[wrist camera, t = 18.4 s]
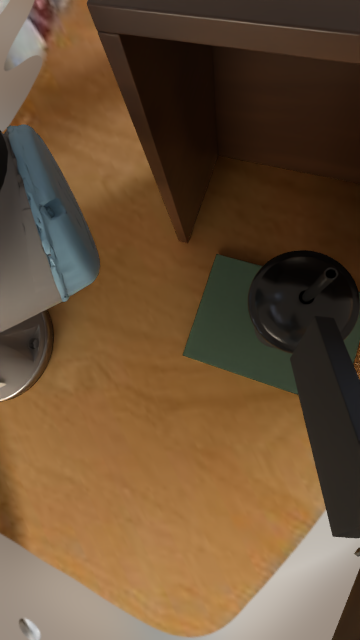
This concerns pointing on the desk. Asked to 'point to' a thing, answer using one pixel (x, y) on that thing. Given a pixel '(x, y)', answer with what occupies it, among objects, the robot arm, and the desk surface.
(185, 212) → the cabinet
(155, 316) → the desk surface
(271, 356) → the mat
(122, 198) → the desk surface
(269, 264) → the drinking cup
